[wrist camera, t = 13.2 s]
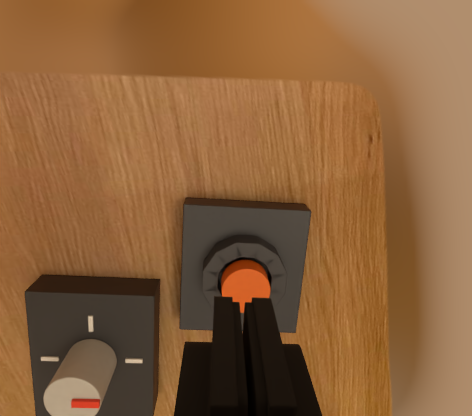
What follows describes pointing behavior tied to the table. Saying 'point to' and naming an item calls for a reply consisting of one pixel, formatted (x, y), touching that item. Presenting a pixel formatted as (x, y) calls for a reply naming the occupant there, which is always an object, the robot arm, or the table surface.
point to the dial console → (97, 335)
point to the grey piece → (241, 254)
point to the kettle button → (245, 282)
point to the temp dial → (81, 380)
